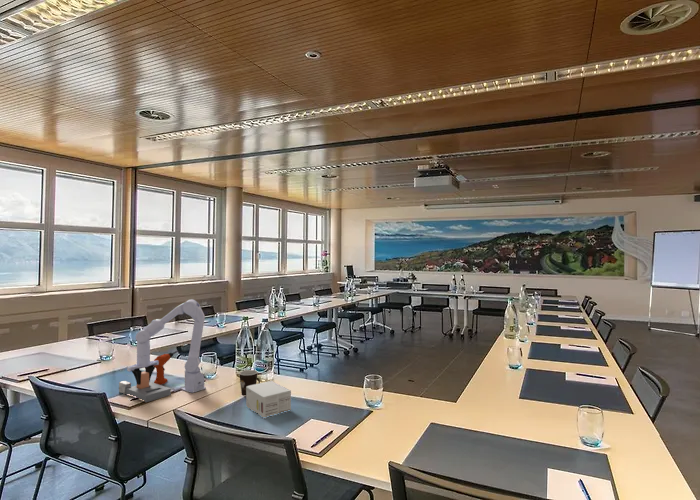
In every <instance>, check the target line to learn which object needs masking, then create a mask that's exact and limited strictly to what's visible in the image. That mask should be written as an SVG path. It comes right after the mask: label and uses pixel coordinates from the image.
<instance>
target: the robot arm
mask: <svg viewBox="0 0 700 500" xmlns="http://www.w3.org/2000/svg"><path fill="white" fill-rule="evenodd" d="M184 314H186V315H188V316H189V317H190V318H192V319H193V320H194V322H193V329H192V333H191V339H190V344H189V345H190V347H189V353H188V356H187V360H186V361H185V363H184V387H181V388H180V390H182V391H185V392H187V393H191V394H193V393H196V392H199V391H203V390H205V389H206V387H205V374H204V373H202V371H201V367H199V365H200V364H201V358H200V350H201V344H202V338H203V337H202V336H203V331H204V324H205V317H206V316H205V313H204V311H203V309H202V307H201V304H200V303H199V302H198V301H197V300H195V299H193V298H191V299H190V298H189V299H188V300H186V301H185V302H183V303H181V304H179V305H177V306H176V307H174V308H173V309H172V310H171V311H169V312H168V313H167V314H166V315H164V316H163V317H162V318H156V319H153V320H151V321H150V323H149V324H148V325H146V326H144V327H142V329H141V330H139V331H138V332H137V333H136V335H135V340H136V363H135V364H132V365H130V366H126V371H127V372H129V373H130V372H132V374H133V376H134V378H135V381H136V385H137V384H138V385H140V383H141V373H142V372H143V371H142V370H141V369H144V371H145V372H149V382H151V378H152V375H153V373H154V371H155V370H156V368H155V367H154V365H159V361H157V360H156V361H154V360H152V361H151V344H150V343H151V340H150V339H151V337H154V336H156V334H158V333H160V332H161V331H162V330H164V328H165V325H166V324H167V323H168V322H170V321H171V320H173V319H174V318H175V317H177V316H179V315H184Z"/></svg>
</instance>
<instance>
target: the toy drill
mask: <svg viewBox="0 0 700 500" xmlns="http://www.w3.org/2000/svg"><path fill="white" fill-rule="evenodd" d="M178 352H179V351H178V350H175V351H174V352H169V353H164V354H161V355H158V356H156V358H154V359H153V361H156V360H157V361H159V365H154V367H155V370H156V377H155V380H154V381H153V383H156V384H159V385H162V386H163V385H165V384H167V383H168V381H169V379H168V378H165V370H166V369H165V367H164V366H165V365H166V363H167V362H169V361H170V359H171V358H172V357H173V356H174V355H176V354H177V353H178Z"/></svg>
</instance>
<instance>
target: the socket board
mask: <svg viewBox="0 0 700 500" xmlns="http://www.w3.org/2000/svg"><path fill="white" fill-rule="evenodd" d="M126 394H130V395H133V396H136V397H138V398H140V399H142V400H144V401H145V402H144V401H143V402H144V403H148V402H153V401H155V400H158V399H162V398H165V397H169V396H171V395H172V389H171V388H170V387H168V386H164V385H163V384H162V385H159V384H156V383H154V381H150V382H149V387H147V388H143V389H139V388H137V384H136V385H133V386H132V385H131V387H129V388H126Z"/></svg>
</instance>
